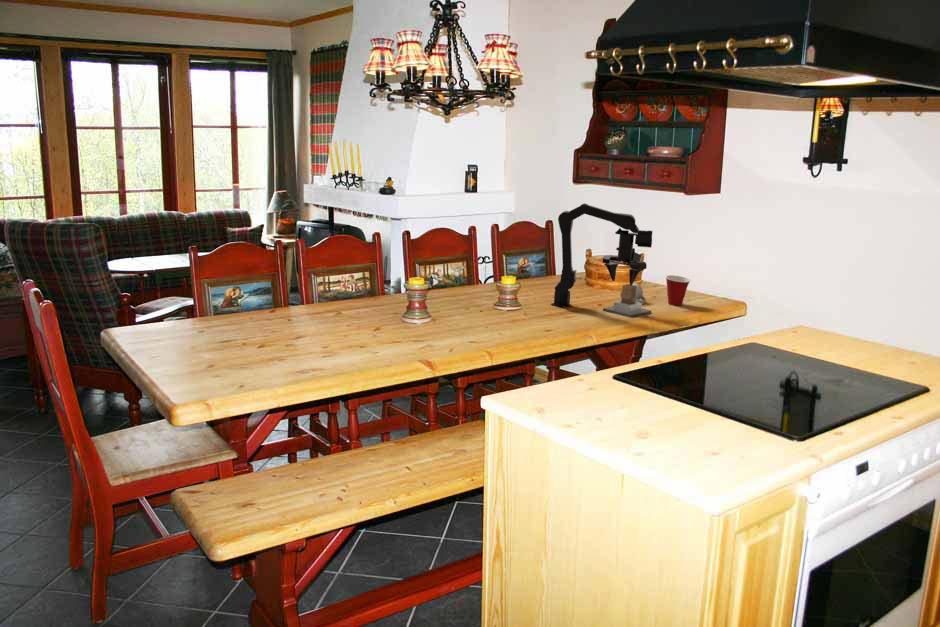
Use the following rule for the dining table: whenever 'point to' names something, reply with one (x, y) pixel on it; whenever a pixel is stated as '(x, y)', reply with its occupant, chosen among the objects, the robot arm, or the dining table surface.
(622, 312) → the metal square socket base
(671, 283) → the plastic cup
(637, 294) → the ceramic mug
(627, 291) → the walnut post
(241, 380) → the dining table surface
